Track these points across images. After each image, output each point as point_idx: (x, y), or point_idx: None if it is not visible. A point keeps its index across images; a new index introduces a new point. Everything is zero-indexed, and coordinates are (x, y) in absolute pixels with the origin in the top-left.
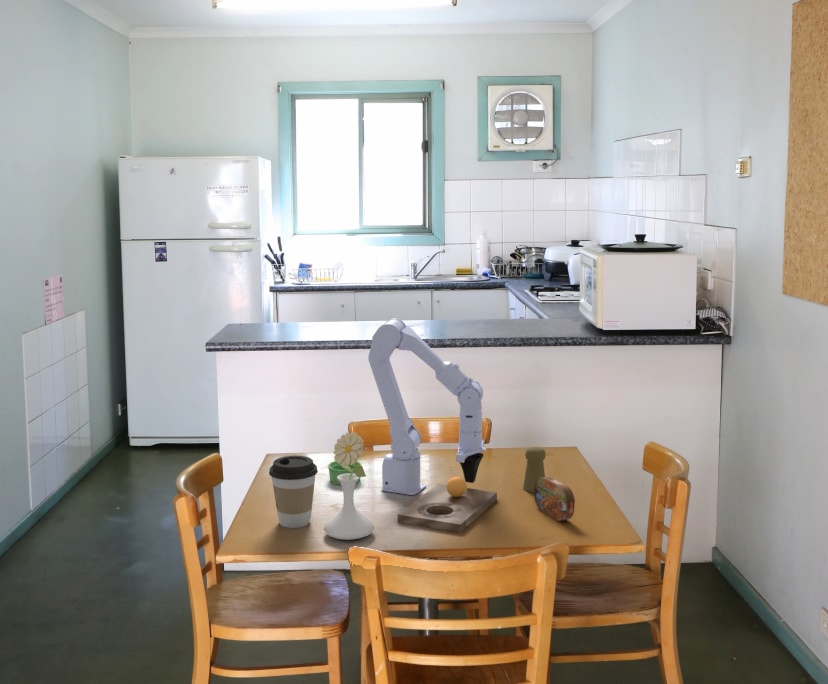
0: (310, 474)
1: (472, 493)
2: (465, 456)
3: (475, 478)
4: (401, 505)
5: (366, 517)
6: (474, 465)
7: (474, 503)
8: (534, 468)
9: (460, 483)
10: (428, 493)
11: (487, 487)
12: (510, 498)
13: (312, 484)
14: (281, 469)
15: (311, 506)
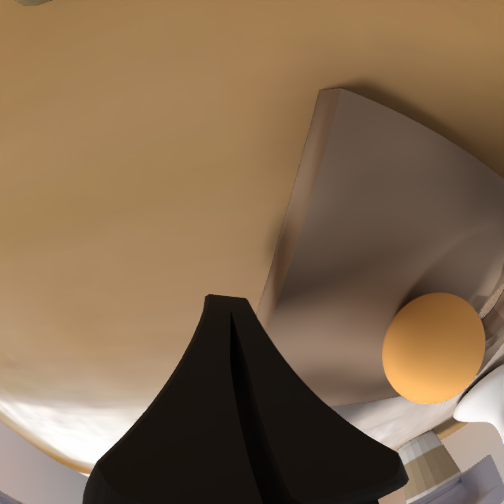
0: None
1: (374, 255)
2: (488, 496)
3: (211, 305)
4: (375, 403)
5: (499, 391)
6: (348, 426)
7: (490, 218)
8: None
9: (484, 343)
10: (358, 397)
11: (86, 196)
12: (267, 8)
13: (453, 475)
14: None
15: (434, 451)
